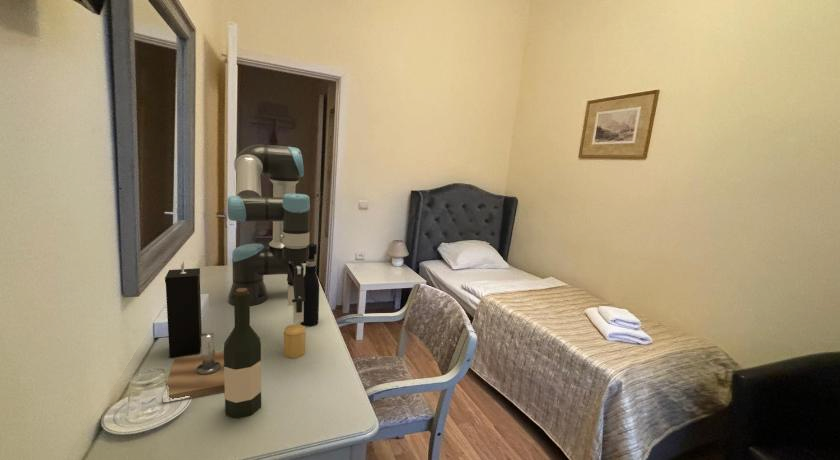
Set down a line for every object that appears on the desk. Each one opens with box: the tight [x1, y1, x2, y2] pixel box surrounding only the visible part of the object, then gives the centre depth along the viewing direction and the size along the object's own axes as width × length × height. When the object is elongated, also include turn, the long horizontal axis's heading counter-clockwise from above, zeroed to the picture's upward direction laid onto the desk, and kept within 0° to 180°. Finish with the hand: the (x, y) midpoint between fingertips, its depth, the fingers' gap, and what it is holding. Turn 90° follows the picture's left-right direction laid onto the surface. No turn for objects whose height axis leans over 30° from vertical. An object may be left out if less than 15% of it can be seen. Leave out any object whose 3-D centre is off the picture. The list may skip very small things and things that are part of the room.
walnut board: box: [166, 350, 225, 399], centre depth 98 cm, size 18×18×2 cm
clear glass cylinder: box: [197, 331, 221, 375], centre depth 97 cm, size 6×6×10 cm
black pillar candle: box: [164, 261, 203, 359], centre depth 107 cm, size 8×8×28 cm
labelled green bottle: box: [223, 288, 262, 420], centre depth 84 cm, size 8×8×30 cm
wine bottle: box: [300, 243, 320, 327], centre depth 131 cm, size 6×6×30 cm
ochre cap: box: [283, 324, 307, 359], centre depth 112 cm, size 6×6×8 cm
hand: (295, 313), depth 110 cm, fingers open, 13 cm apart
